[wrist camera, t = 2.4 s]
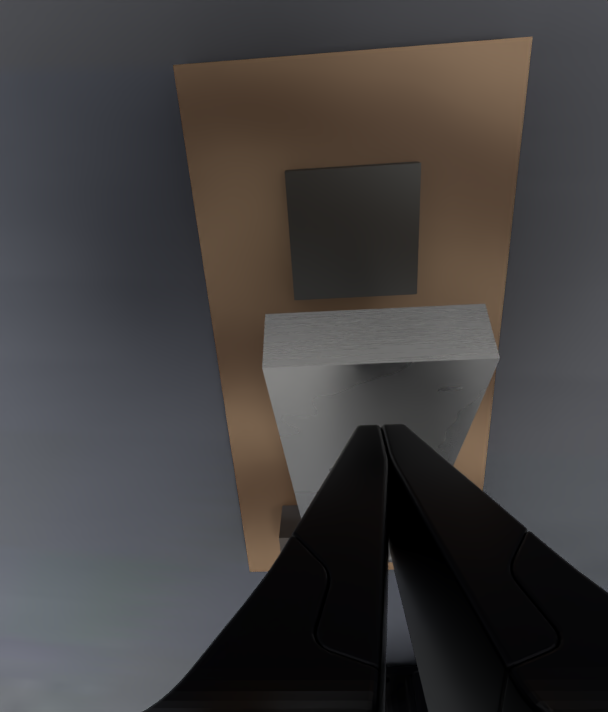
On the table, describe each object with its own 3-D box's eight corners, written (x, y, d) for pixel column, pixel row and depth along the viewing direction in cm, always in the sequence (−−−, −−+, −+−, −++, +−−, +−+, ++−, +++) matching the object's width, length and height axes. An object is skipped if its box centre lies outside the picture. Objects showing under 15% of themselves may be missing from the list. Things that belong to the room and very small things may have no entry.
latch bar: (412, 530, 21) (416, 565, 20) (307, 532, 21) (308, 567, 21) (495, 299, 9) (513, 362, 8) (254, 310, 9) (250, 373, 9)
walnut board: (465, 542, 24) (486, 603, 21) (254, 546, 24) (244, 606, 21) (513, 44, 15) (560, 25, 12) (186, 69, 16) (153, 58, 13)
